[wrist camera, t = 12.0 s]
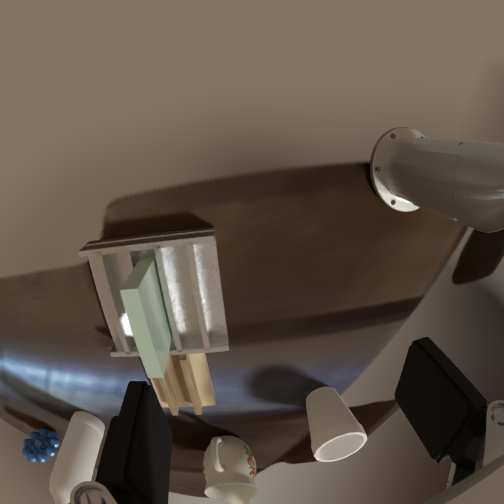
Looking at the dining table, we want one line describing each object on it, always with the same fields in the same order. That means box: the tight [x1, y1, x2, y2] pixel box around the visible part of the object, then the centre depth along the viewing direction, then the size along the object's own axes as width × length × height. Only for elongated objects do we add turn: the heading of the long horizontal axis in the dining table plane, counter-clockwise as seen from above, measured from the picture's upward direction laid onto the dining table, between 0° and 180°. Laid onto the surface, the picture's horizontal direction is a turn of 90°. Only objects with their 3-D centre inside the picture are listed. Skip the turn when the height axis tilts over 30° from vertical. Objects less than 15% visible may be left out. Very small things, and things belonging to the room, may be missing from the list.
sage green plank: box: [120, 255, 173, 378], centre depth 34 cm, size 2×12×10 cm, turn 4°
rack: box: [78, 226, 229, 357], centre depth 38 cm, size 18×17×4 cm
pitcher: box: [202, 436, 258, 504], centre depth 47 cm, size 11×18×14 cm, turn 14°
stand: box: [150, 353, 216, 415], centre depth 44 cm, size 10×14×4 cm
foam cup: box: [306, 387, 367, 462], centre depth 45 cm, size 10×9×13 cm
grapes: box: [22, 428, 60, 463], centre depth 44 cm, size 12×7×12 cm, turn 95°
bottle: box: [49, 411, 105, 504], centre depth 35 cm, size 8×8×30 cm
